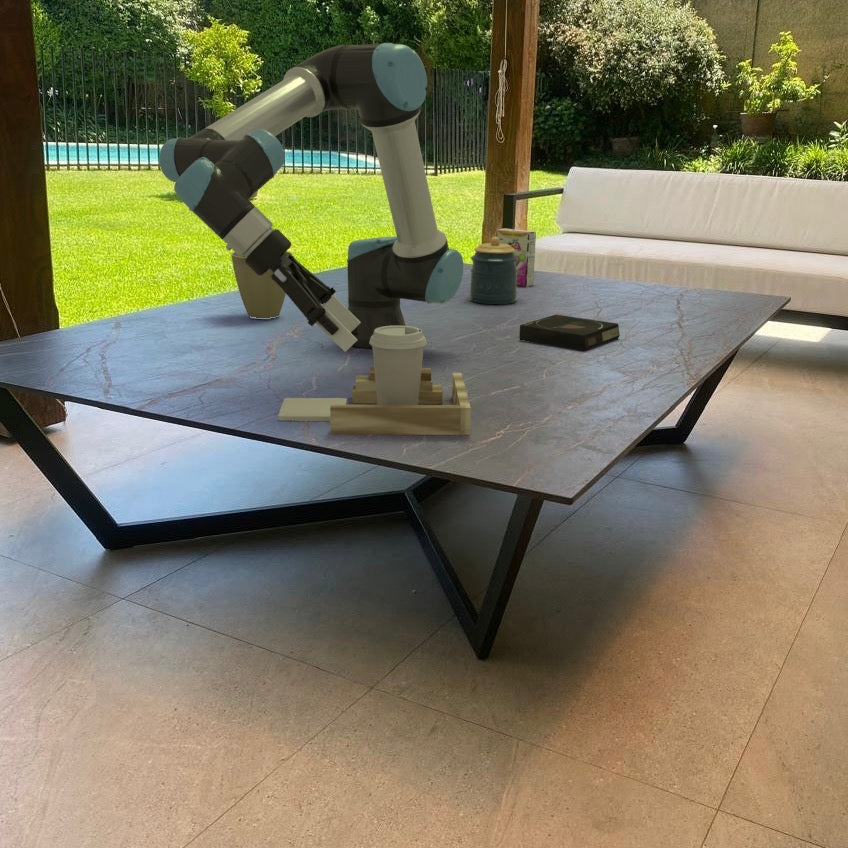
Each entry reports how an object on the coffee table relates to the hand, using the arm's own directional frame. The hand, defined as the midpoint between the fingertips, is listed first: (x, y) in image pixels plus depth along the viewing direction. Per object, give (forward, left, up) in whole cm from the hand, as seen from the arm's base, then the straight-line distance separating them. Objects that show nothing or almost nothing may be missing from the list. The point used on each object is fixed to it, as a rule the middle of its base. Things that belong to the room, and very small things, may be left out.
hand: (353, 336), depth 160 cm
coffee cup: (-1, +7, -14) cm, 16 cm away
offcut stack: (-11, +7, -14) cm, 19 cm away
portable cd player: (-61, +47, -15) cm, 79 cm away
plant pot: (-84, -26, -14) cm, 89 cm away
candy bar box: (-136, +43, -14) cm, 144 cm away
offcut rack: (-1, +7, -14) cm, 16 cm away
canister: (-109, +34, -14) cm, 115 cm away
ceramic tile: (-4, -7, -14) cm, 16 cm away
